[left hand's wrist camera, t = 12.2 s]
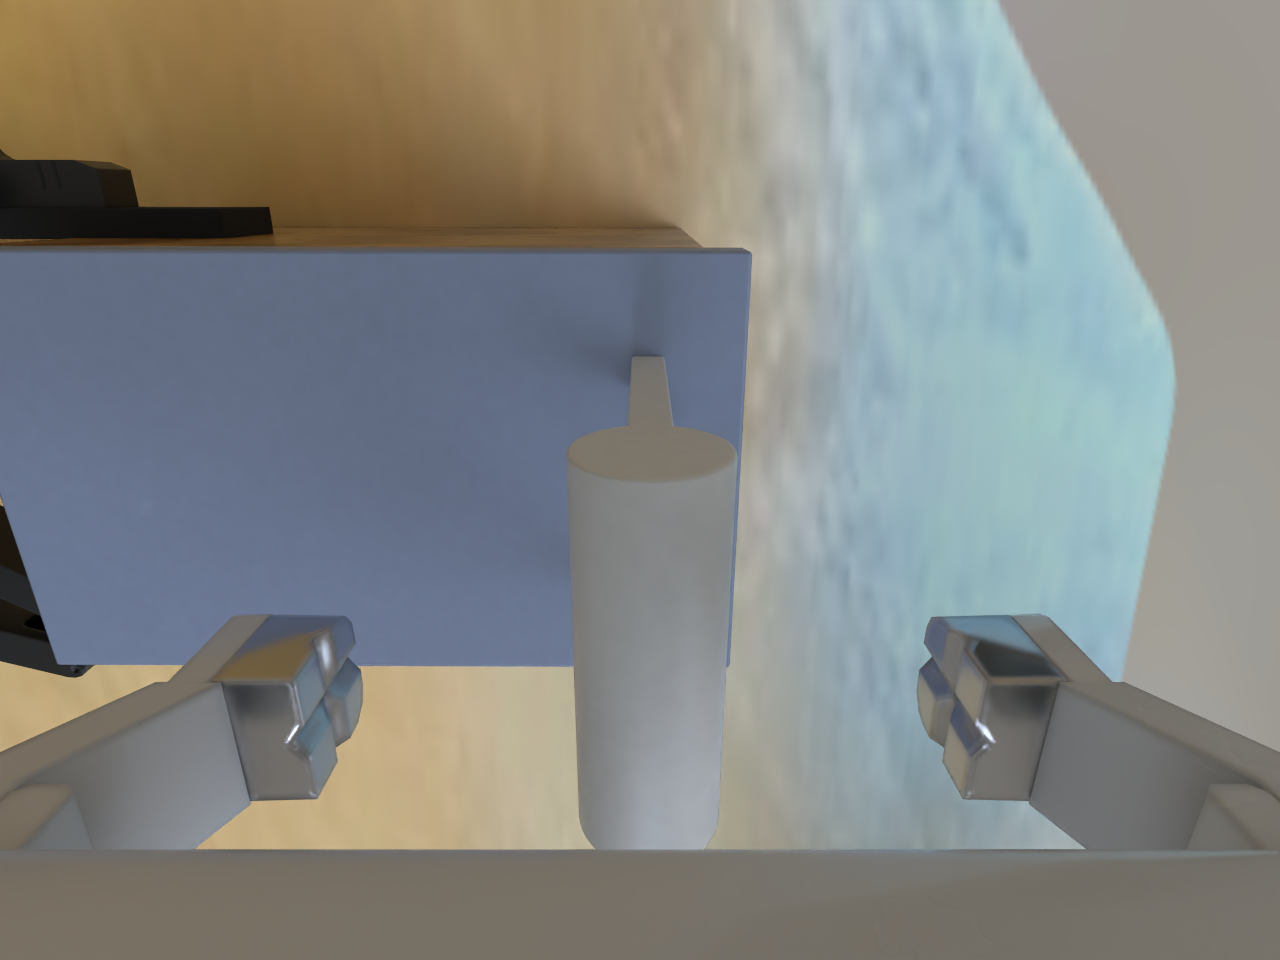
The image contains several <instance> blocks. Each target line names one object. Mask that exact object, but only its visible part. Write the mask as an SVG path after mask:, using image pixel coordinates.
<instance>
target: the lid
mask: <svg viewBox="0 0 1280 960" xmlns="http://www.w3.org/2000/svg"><path fill="white" fill-rule="evenodd" d="M751 266H752V254H751V252H749V251H747V250H746V249H743V248H599V247H212V246H0V496H1V499H2V502H3V505H4V508H5V511H6V514H7V517H8V520H9V523H10V526H11V529H12V532H13V535H14V538H15V541H16V544H17V547H18V550H19V553H20V555H21V558H22V561H23V564H24V567H25V570H26V573H27V576H28V579H29V582H30V585H31V588H32V591H33V594H34V597H35V600H36V603H37V606H38V609H39V612H40V615H41V617H42V620H43V623H44V626H45V629H46V632H47V635H48V638H49V641H50V644H51V647H52V650H53V653H54V656H55V659H56V662H57V663H58V664H59V665H185V664H186V663H187V662H188V661H189V660H190V659H191V658H192V657H193V656H194V655H195V654H196V653H197V652H198V651H199V650H200V649H201V648H202V647H203V646H204V645H205V643H206V642H207V641H208V640H209V639H210V638H211V637H212V636H213V635H214V634H215V633H216V632H217V631H218V630H219V629H220V628H221V627H222V626H223V625H224V624H225V623H226V622H227V621H228V620H229V619H230V618H231V617H232V616H237V615H242V614H273V615H277V614H279V615H329V616H346V617H347V618H348V619H349V620H350V621H351V622H352V625H353V630H354V635H355V640H356V644H355V646H354V647H353V649H352V650H351V652H350V654H349V655H348V658H349V659H350V660H351V661H352V662H353V663H354V664H355V665H356V666H533V667H574V687H575V715H576V742H577V770H578V798H579V818H580V824H581V827H582V830H583V832H584V834H585V836H586V838H587V839H588V841H589V842H590V843H591V845H592V846H593V847H594V848H595V849H596V850H702V849H703V848H704V847H705V846H706V845H707V844H708V842H709V841H710V840H711V838H712V836H713V834H714V832H715V830H716V827H717V823H718V814H719V795H720V776H721V757H722V739H723V720H724V701H725V682H726V667H728V666H729V664H730V647H731V629H732V611H733V592H734V574H735V556H736V538H737V520H738V502H739V484H740V465H741V447H742V429H743V411H744V393H745V375H746V357H747V338H748V320H749V302H750V284H751Z"/></svg>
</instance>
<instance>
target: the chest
mask: <svg viewBox="0 0 1280 960" xmlns="http://www.w3.org/2000/svg"><path fill="white" fill-rule="evenodd" d="M273 233H274V234H264V235H254V236H244V237H234V238H67V239H53V240H40V241H26V242H12V243H0V246H212V247H599V248H703V247H702V246H701V245H700V244H698V243H697V242H696V241H695V240H694V239H692V238H691V237H690V236H689V235H688V234H687V233H685V232H684V231H683V230H682V229H681V228H478V227H273Z"/></svg>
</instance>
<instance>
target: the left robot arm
mask: <svg viewBox="0 0 1280 960" xmlns="http://www.w3.org/2000/svg"><path fill="white" fill-rule="evenodd" d="M355 644H356V640H355V635H354V630H353V625H352V622H351V621H350V620H349V619H348V618H347V617H346V616H329V615H279V614H277V615H273V614H242V615H237V616H232V617H231V618H230V619H229V620H228V621H227V622H226V623H225V624H224V625H223V626H222V627H221V628H220V629H219V630H218V631H217V632H216V633H215V634H214V635H213V636H212V637H211V638H210V639H209V640H208V641H207V642H206V643H205V645H204V646H203V647H202V648H201V649H200V650H199V651H198V652H197V653H196V654H195V655H194V656H193V657H192V658H191V659H190V660H189V661H188V662H187V663H186V664H185V665H184V666H183V667H182V668H181V669H180V670H179V671H178V672H177V673H176V674H175V675H174V676H173V677H172V678H171V679H170V680H169V681H168V682H155V683H153V684H151V685H148V686H146V687H144V688H142V689H139V690H137V691H135V692H133V693H131V694H128V695H126V696H124V697H122V698H119V699H117V700H115V701H113V702H111V703H108V704H106V705H104V706H102V707H99V708H97V709H95V710H93V711H91V712H88V713H86V714H84V715H82V716H79V717H77V718H75V719H73V720H71V721H68V722H66V723H64V724H62V725H60V726H57V727H55V728H53V729H51V730H48V731H46V732H44V733H42V734H40V735H37V736H35V737H33V738H31V739H28V740H26V741H24V742H22V743H20V744H17V745H15V746H13V747H11V748H8V749H6V750H4V751H2V752H0V960H1280V752H1278V751H1276V750H1273V749H1271V748H1269V747H1267V746H1264V745H1262V744H1260V743H1258V742H1256V741H1253V740H1251V739H1249V738H1247V737H1245V736H1242V735H1240V734H1238V733H1236V732H1233V731H1231V730H1229V729H1227V728H1225V727H1222V726H1220V725H1218V724H1216V723H1214V722H1211V721H1209V720H1207V719H1205V718H1202V717H1200V716H1198V715H1196V714H1194V713H1191V712H1189V711H1187V710H1185V709H1183V708H1180V707H1178V706H1176V705H1174V704H1172V703H1169V702H1167V701H1165V700H1163V699H1160V698H1158V697H1156V696H1154V695H1152V694H1149V693H1147V692H1145V691H1143V690H1141V689H1138V688H1136V687H1134V686H1132V685H1129V684H1127V683H1125V682H1112V681H1111V680H1110V679H1109V678H1108V677H1107V676H1106V675H1105V674H1104V673H1103V672H1102V671H1101V670H1100V669H1099V668H1098V667H1097V666H1096V665H1095V664H1094V663H1093V662H1092V661H1091V660H1090V659H1089V658H1088V657H1087V656H1086V655H1085V654H1084V653H1083V651H1082V650H1081V649H1080V648H1079V647H1078V646H1077V645H1076V644H1075V643H1074V642H1073V641H1072V640H1071V639H1070V638H1069V637H1068V636H1067V635H1066V634H1065V633H1064V632H1063V631H1062V630H1061V629H1060V628H1059V627H1058V626H1057V625H1056V624H1055V623H1054V622H1053V621H1052V620H1051V619H1050V618H1049V617H1047V616H1044V615H1042V614H1018V615H987V616H947V617H931V619H930V621H929V623H928V626H927V628H926V634H925V639H924V644H925V646H926V647H927V649H928V650H929V652H930V654H931V655H932V658H931V659H930V660H929V661H928V662H927V663H926V664H925V665H924V666H923V667H922V668H921V669H920V670H919V677H918V685H917V699H918V710H919V713H920V717H921V720H922V723H923V726H924V728H925V730H926V732H927V734H928V736H929V737H930V738H931V739H932V740H934V741H935V742H937V743H938V744H940V745H941V746H943V747H944V748H945V749H944V755H943V760H942V762H943V764H944V766H945V767H946V769H947V771H948V773H949V775H950V777H951V778H952V780H953V782H954V784H955V786H956V788H957V789H958V791H959V793H960V795H961V797H962V799H978V800H1014V801H1030V802H1029V804H1030V805H1031V806H1032V807H1034V808H1035V809H1036V810H1038V811H1039V812H1040V813H1041V814H1043V815H1044V816H1045V817H1046V818H1048V819H1049V820H1050V821H1051V822H1053V823H1054V824H1055V825H1056V826H1058V827H1059V828H1060V829H1062V830H1063V831H1064V832H1065V833H1067V834H1068V835H1069V836H1070V837H1072V838H1073V839H1074V840H1075V841H1077V842H1078V843H1079V844H1080V845H1082V846H1083V847H1084V848H1085V849H888V850H482V849H481V850H480V849H195V848H196V847H197V846H199V845H200V844H201V843H202V842H204V841H205V840H206V839H207V838H209V837H210V836H211V835H212V834H214V833H215V832H216V831H217V830H219V829H220V828H221V827H223V826H224V825H225V824H226V823H228V822H229V821H230V820H231V819H233V818H234V817H235V816H236V815H238V814H239V813H240V812H242V811H243V810H244V809H245V808H247V807H248V806H249V805H250V804H251V803H250V801H265V800H300V799H318V797H319V795H320V793H321V791H322V790H323V788H324V786H325V784H326V782H327V780H328V778H329V777H330V775H331V773H332V771H333V769H334V767H335V766H336V764H337V762H338V760H337V755H336V749H335V748H336V747H337V746H339V745H340V744H342V743H343V742H345V741H346V740H348V739H349V738H350V737H351V736H352V734H353V732H354V730H355V728H356V726H357V724H358V721H359V716H360V712H361V707H362V703H363V682H362V676H361V670H360V669H359V668H358V667H357V666H356V665H355V664H354V663H353V662H352V661H351V660H350V659H349V658H348V655H349V654H350V652H351V650H352V649H353V647H354V646H355Z"/></svg>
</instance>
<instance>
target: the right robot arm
mask: <svg viewBox="0 0 1280 960" xmlns="http://www.w3.org/2000/svg"><path fill="white" fill-rule="evenodd" d="M264 234H274V233H273V227H272V221H271V215H270V209H269V207H139V205H138V201H137V196H136V192H135V188H134V183H133V179H132V175H131V170H128V169H126V168H123V167H121V166H118V165H116V164H113V163H111V162H96V161H81V160H15V159H12V158H11V157H9V156H7V155H6V154H5V153H4V152H2V151H1V150H0V239H67V238H234V237H244V236H254V235H264ZM0 661H2V662H6V663H11V664H15V665H19V666H23V667H28V668H32V669H36V670H40V671H45V672H49V673H53V674H57V675H62V676H66V677H74V678H76V677H80V676H82V675H83V674H85V673H86V672H87V671H88V670H89V669H90V668H92V667H93V666H94V665H59V664H58V663H57V662H56V659H55V656H54V653H53V650H52V647H51V644H50V641H49V638H48V635H47V632H46V629H45V626H44V623H43V620H42V617H41V615H40V612H39V609H38V606H37V603H36V600H35V597H34V594H33V591H32V588H31V585H30V582H29V579H28V576H27V573H26V570H25V567H24V564H23V561H22V558H21V555H20V553H19V550H18V547H17V544H16V541H15V538H14V535H13V532H12V529H11V526H10V523H9V520H8V517H7V514H6V511H5V508H4V507H3V506H1V505H0Z"/></svg>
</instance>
